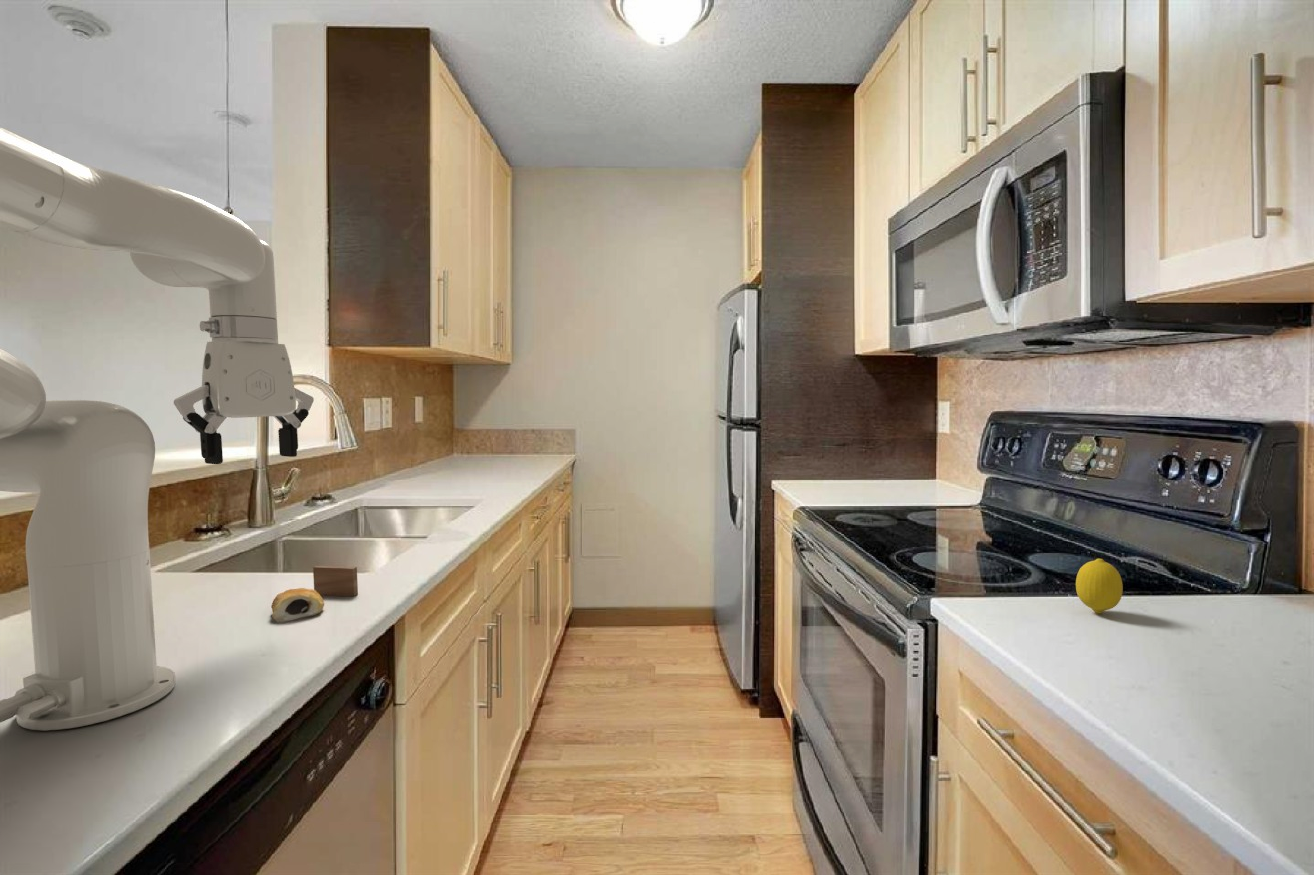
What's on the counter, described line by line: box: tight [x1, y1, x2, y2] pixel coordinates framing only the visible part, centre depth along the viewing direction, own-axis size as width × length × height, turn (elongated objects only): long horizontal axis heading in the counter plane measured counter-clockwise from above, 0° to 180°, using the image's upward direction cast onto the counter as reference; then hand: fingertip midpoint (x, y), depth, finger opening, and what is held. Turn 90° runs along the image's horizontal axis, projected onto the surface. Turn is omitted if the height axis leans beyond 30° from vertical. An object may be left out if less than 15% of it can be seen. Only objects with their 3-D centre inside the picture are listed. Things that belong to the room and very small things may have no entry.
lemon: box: [1075, 558, 1124, 615], centre depth 92 cm, size 6×6×8 cm
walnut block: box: [312, 565, 359, 597], centre depth 103 cm, size 1×7×4 cm, turn 82°
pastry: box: [271, 587, 325, 623], centre depth 96 cm, size 9×7×4 cm
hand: (252, 459), depth 87 cm, fingers open, 9 cm apart
